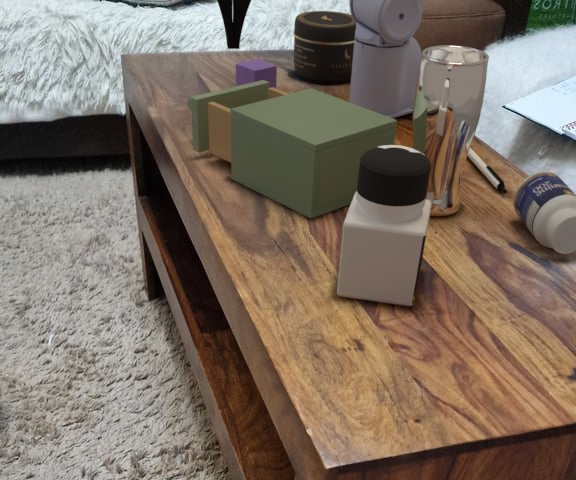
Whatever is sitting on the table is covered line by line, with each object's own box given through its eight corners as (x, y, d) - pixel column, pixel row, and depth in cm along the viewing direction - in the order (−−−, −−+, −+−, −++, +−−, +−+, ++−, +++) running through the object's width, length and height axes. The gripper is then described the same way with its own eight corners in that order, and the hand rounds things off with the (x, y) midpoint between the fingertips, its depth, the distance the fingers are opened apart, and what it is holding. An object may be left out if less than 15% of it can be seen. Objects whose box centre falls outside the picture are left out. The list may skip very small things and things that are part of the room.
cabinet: (231, 179, 89) (230, 108, 84) (308, 155, 95) (312, 87, 90) (311, 218, 83) (315, 144, 77) (388, 190, 89) (397, 120, 83)
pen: (500, 195, 89) (503, 186, 88) (447, 136, 102) (449, 127, 101) (508, 195, 89) (510, 185, 88) (454, 136, 102) (455, 127, 101)
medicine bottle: (413, 308, 70) (436, 174, 62) (335, 297, 71) (348, 163, 62) (419, 272, 75) (442, 143, 67) (347, 262, 76) (360, 133, 67)
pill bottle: (567, 168, 81) (605, 207, 74) (554, 218, 85) (589, 259, 78) (518, 169, 81) (552, 209, 74) (507, 219, 84) (538, 261, 78)
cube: (257, 85, 114) (257, 58, 112) (276, 93, 112) (277, 65, 110) (235, 90, 112) (235, 63, 110) (254, 98, 110) (254, 70, 107)
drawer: (172, 139, 95) (168, 87, 91) (241, 121, 101) (241, 71, 97) (260, 182, 87) (261, 127, 83) (330, 160, 92) (334, 107, 88)
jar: (322, 89, 114) (326, 30, 109) (278, 72, 119) (280, 15, 114) (369, 78, 119) (375, 21, 114) (325, 62, 124) (329, 6, 119)
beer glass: (469, 198, 88) (497, 49, 77) (455, 223, 83) (483, 67, 72) (409, 188, 89) (429, 41, 79) (393, 211, 85) (412, 58, 74)
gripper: (167, -87, 83) (175, 55, 92) (300, -84, 85) (295, 55, 94) (165, -97, 88) (173, 39, 97) (291, -94, 89) (286, 40, 99)
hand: (233, 46), depth 96 cm, fingers closed
